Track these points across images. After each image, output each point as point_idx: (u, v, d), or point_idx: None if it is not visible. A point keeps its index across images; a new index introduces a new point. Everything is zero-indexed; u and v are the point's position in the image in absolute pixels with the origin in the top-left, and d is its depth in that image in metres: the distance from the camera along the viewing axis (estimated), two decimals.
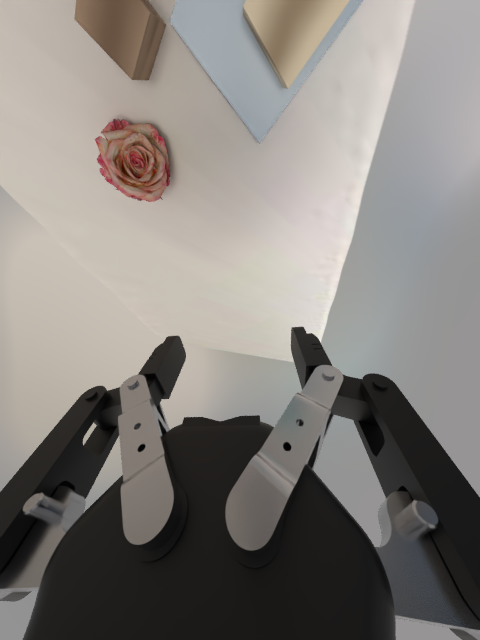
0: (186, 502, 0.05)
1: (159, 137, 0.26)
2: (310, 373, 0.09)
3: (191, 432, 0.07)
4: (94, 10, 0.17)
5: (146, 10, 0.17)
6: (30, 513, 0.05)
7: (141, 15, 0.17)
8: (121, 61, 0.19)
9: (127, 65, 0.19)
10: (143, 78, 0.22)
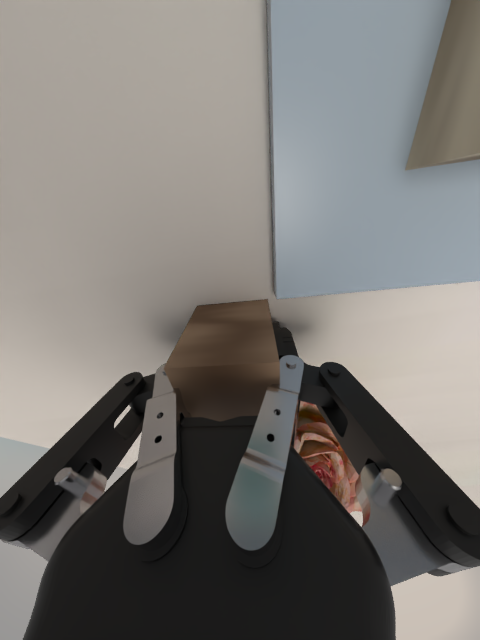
0: (186, 502, 0.05)
1: None
2: None
3: (191, 432, 0.07)
4: (208, 411, 0.10)
5: (273, 364, 0.08)
6: (58, 485, 0.06)
7: (268, 373, 0.08)
8: None
9: None
10: None
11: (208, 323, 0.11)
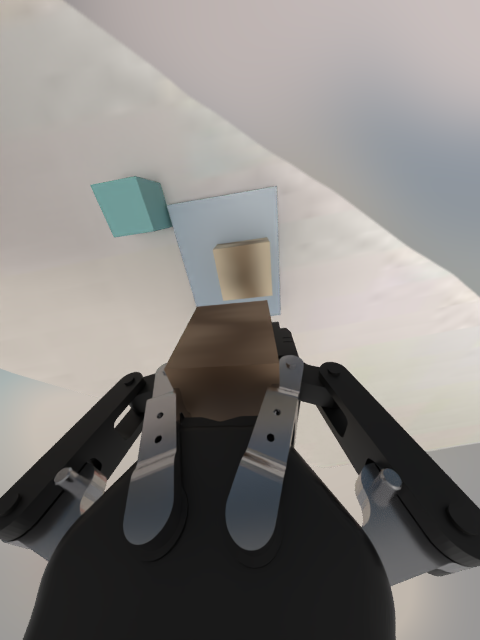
0: (186, 502, 0.05)
1: None
2: None
3: (191, 432, 0.07)
4: (208, 412, 0.10)
5: (273, 365, 0.08)
6: (58, 485, 0.06)
7: (268, 374, 0.08)
8: None
9: None
10: None
11: (208, 324, 0.11)
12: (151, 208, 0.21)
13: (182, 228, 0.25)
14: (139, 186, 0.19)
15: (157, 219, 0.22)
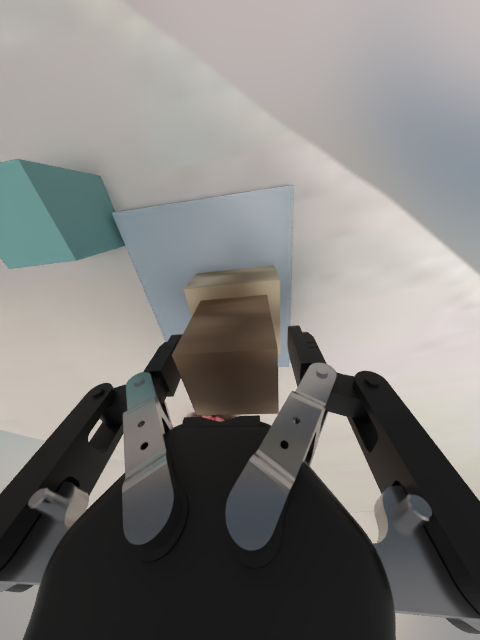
0: (186, 502, 0.05)
1: (213, 418, 0.27)
2: (304, 371, 0.09)
3: (191, 432, 0.07)
4: (211, 397, 0.10)
5: (271, 351, 0.08)
6: (35, 508, 0.06)
7: (267, 359, 0.09)
8: (259, 409, 0.11)
9: (267, 407, 0.11)
10: None
11: (211, 316, 0.12)
12: (71, 220, 0.12)
13: (140, 248, 0.16)
14: (34, 178, 0.10)
15: (86, 237, 0.13)
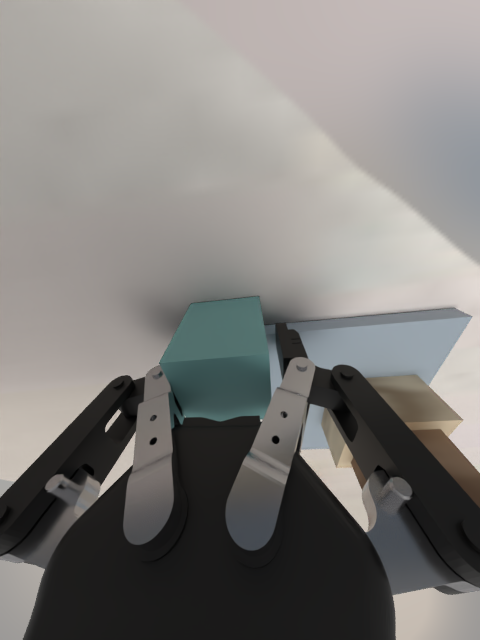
0: (186, 502, 0.05)
1: None
2: (287, 365, 0.10)
3: (191, 432, 0.07)
4: None
5: None
6: (50, 492, 0.06)
7: None
8: None
9: None
10: None
11: None
12: None
13: None
14: (268, 362, 0.09)
15: None
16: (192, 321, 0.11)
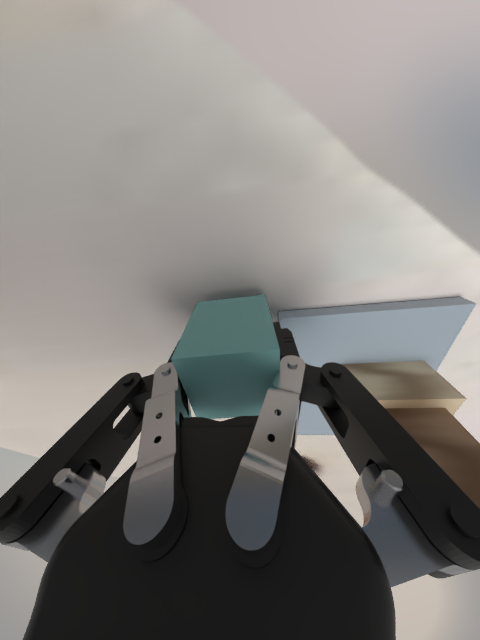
0: (186, 502, 0.05)
1: None
2: None
3: (191, 432, 0.07)
4: None
5: None
6: (57, 486, 0.06)
7: None
8: None
9: None
10: None
11: None
12: None
13: None
14: (279, 357, 0.09)
15: None
16: (200, 318, 0.11)
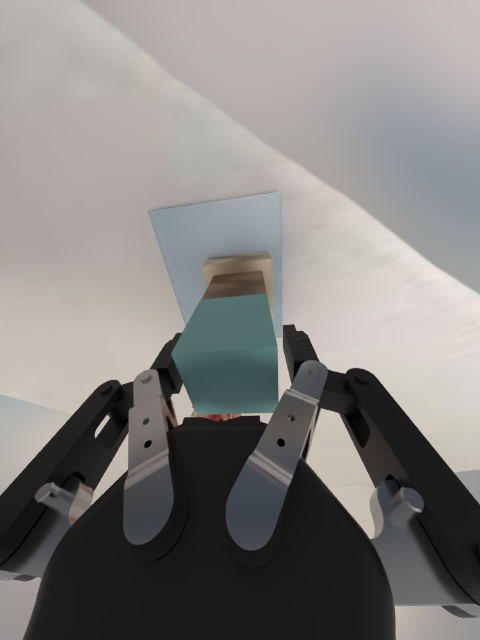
0: (186, 502, 0.05)
1: None
2: (297, 368, 0.10)
3: (191, 432, 0.07)
4: None
5: None
6: (41, 501, 0.06)
7: None
8: None
9: None
10: None
11: (223, 282, 0.17)
12: None
13: (167, 238, 0.21)
14: (276, 355, 0.09)
15: None
16: (201, 315, 0.12)
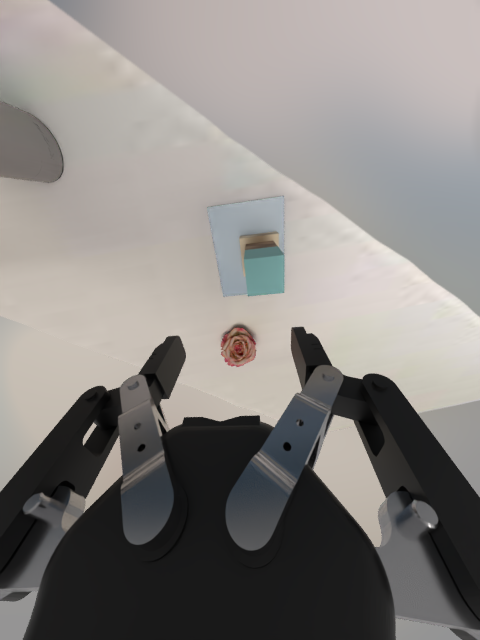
0: (186, 502, 0.05)
1: (240, 329, 0.46)
2: (310, 373, 0.09)
3: (191, 432, 0.07)
4: None
5: None
6: (30, 513, 0.05)
7: None
8: None
9: None
10: None
11: (253, 245, 0.31)
12: None
13: (216, 223, 0.35)
14: (283, 260, 0.23)
15: None
16: (249, 253, 0.26)
